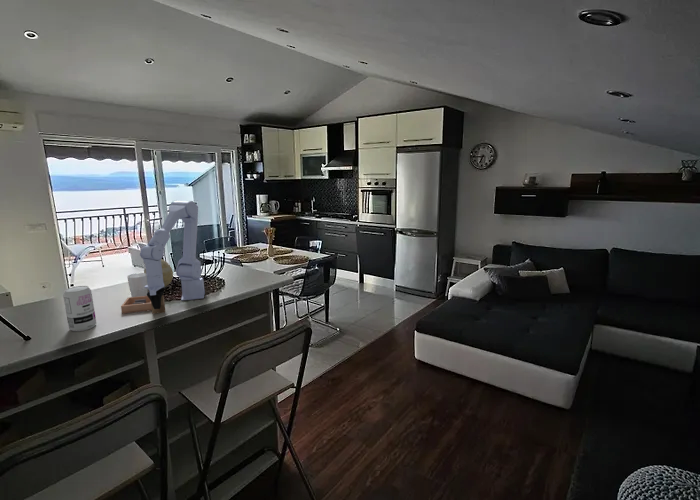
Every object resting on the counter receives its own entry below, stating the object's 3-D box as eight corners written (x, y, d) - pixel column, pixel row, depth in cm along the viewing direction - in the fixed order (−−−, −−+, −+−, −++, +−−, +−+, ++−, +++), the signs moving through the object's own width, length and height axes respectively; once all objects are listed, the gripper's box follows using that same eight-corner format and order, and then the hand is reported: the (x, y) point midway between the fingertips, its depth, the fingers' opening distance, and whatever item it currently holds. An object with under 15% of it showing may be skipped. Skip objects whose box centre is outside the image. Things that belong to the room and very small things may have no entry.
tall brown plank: (165, 310, 148) (163, 294, 147) (164, 312, 146) (162, 296, 145) (153, 312, 147) (151, 295, 145) (152, 313, 145) (150, 297, 144)
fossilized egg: (155, 293, 169) (151, 263, 166) (140, 289, 176) (136, 259, 172) (179, 286, 180) (176, 257, 177) (164, 282, 186) (161, 254, 183)
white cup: (140, 299, 162) (138, 278, 160) (125, 298, 163) (123, 277, 161) (153, 293, 169) (150, 273, 167) (139, 292, 171) (136, 272, 169)
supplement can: (78, 323, 136) (72, 285, 133) (101, 322, 136) (95, 285, 133) (63, 332, 128) (56, 292, 125) (88, 331, 128) (81, 292, 125)
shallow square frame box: (156, 301, 159) (156, 294, 158) (152, 310, 148) (151, 303, 148) (128, 304, 155) (127, 297, 154) (121, 313, 145) (120, 306, 144)
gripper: (147, 271, 149) (150, 301, 152) (139, 280, 135) (143, 314, 138) (165, 269, 151) (169, 300, 154) (159, 278, 138) (163, 312, 140)
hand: (158, 306), depth 146 cm, fingers open, 4 cm apart
